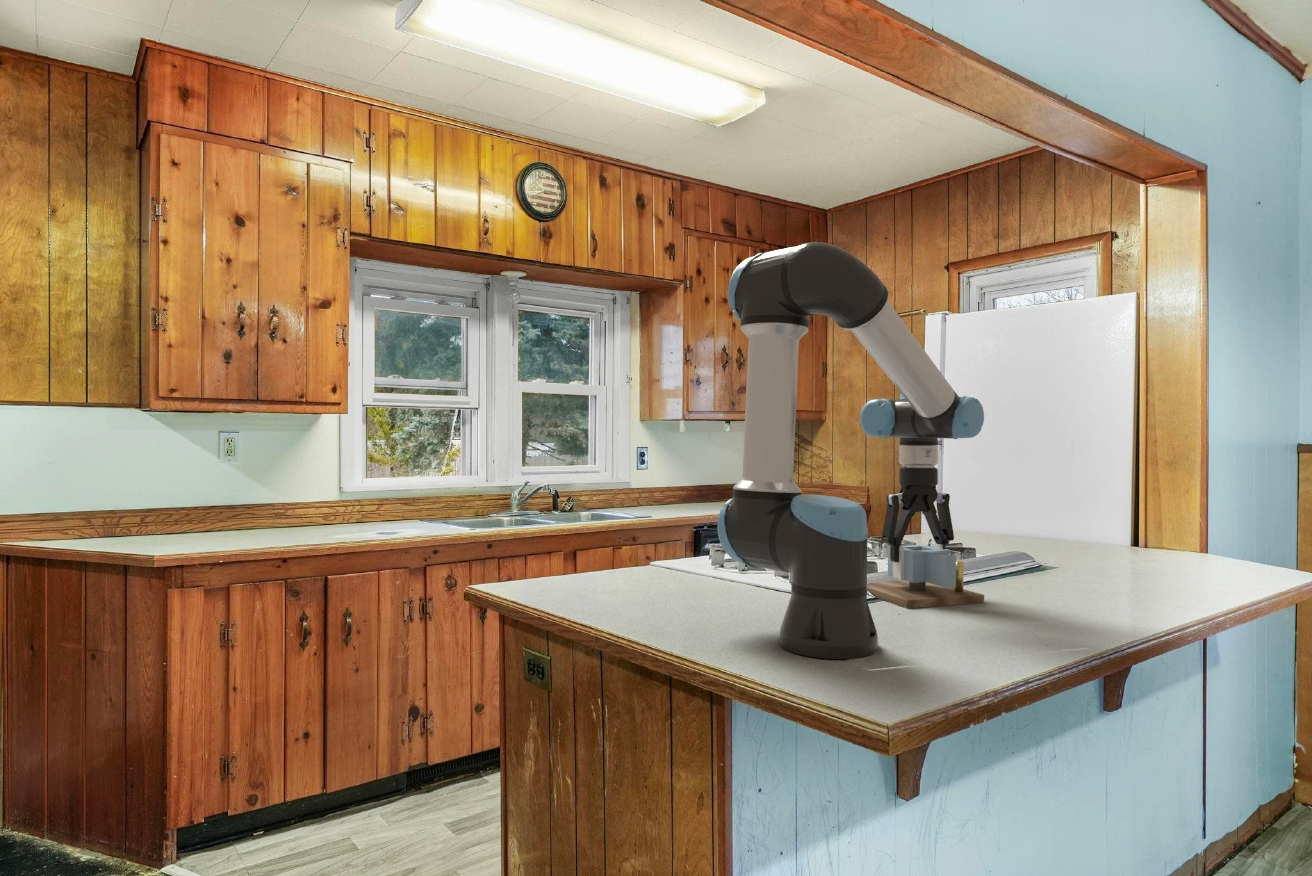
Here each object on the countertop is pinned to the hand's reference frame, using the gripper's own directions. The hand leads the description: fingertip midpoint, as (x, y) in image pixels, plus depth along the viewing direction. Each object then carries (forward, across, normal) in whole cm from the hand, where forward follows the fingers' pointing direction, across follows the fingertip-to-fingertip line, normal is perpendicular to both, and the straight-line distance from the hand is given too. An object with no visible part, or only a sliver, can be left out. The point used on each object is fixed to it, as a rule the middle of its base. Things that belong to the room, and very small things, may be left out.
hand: (917, 576), depth 165 cm
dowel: (+3, +6, -5) cm, 8 cm away
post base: (+4, 0, 0) cm, 4 cm away
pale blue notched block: (0, 0, -3) cm, 3 cm away
